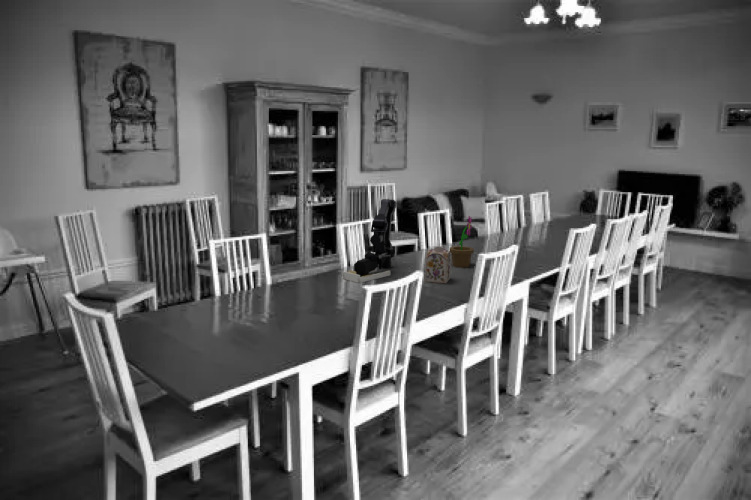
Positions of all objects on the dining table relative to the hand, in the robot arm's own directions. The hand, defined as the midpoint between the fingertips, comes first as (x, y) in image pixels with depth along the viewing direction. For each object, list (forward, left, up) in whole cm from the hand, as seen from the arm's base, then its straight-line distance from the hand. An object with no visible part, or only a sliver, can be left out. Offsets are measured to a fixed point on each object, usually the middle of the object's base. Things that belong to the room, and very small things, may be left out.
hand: (380, 268), depth 320 cm
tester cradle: (+10, 0, -3) cm, 11 cm away
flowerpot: (-50, +18, -3) cm, 53 cm away
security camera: (+12, +1, -3) cm, 13 cm away
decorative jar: (-13, +30, -3) cm, 33 cm away
